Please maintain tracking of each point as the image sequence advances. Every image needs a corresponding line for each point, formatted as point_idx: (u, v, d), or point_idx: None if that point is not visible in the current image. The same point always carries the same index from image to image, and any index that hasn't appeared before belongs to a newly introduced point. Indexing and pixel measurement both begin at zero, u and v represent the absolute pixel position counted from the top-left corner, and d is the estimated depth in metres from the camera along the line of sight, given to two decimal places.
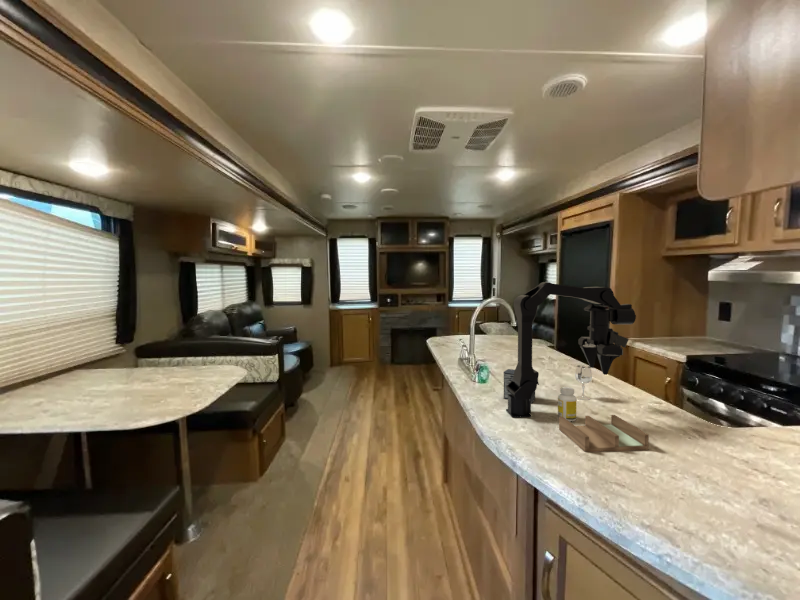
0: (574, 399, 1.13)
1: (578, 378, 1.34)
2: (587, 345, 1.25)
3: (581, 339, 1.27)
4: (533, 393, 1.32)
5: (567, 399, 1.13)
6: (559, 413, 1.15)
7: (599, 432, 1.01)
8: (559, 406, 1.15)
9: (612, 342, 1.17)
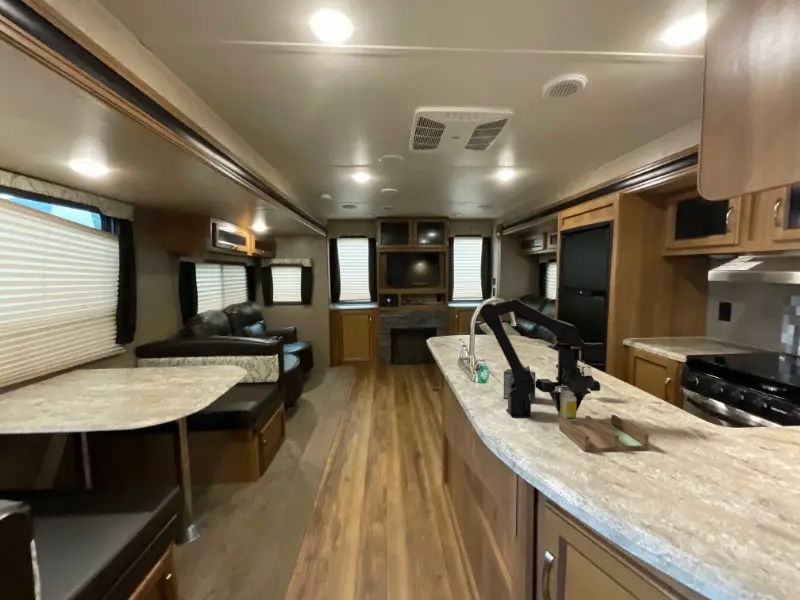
0: (574, 399, 1.13)
1: None
2: None
3: None
4: (533, 393, 1.32)
5: (567, 399, 1.13)
6: (559, 413, 1.15)
7: (599, 432, 1.01)
8: None
9: (563, 382, 1.12)
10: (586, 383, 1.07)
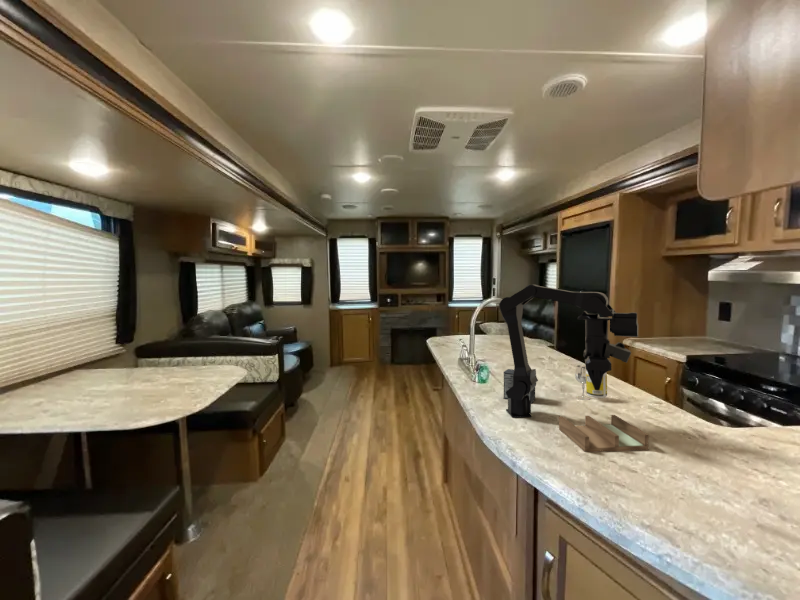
0: None
1: (578, 378, 1.34)
2: None
3: (585, 351, 1.13)
4: (533, 393, 1.32)
5: (605, 373, 1.04)
6: (598, 391, 1.04)
7: (599, 432, 1.01)
8: None
9: (608, 355, 1.02)
10: (628, 350, 1.03)
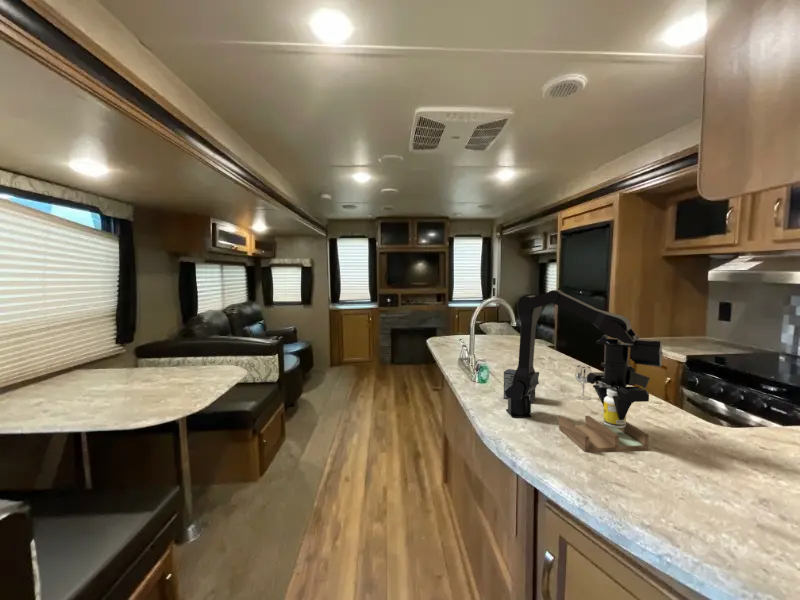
0: None
1: (578, 378, 1.34)
2: (602, 385, 1.04)
3: (591, 376, 1.07)
4: (533, 393, 1.32)
5: None
6: (621, 421, 0.98)
7: (599, 432, 1.01)
8: None
9: (632, 383, 0.97)
10: None
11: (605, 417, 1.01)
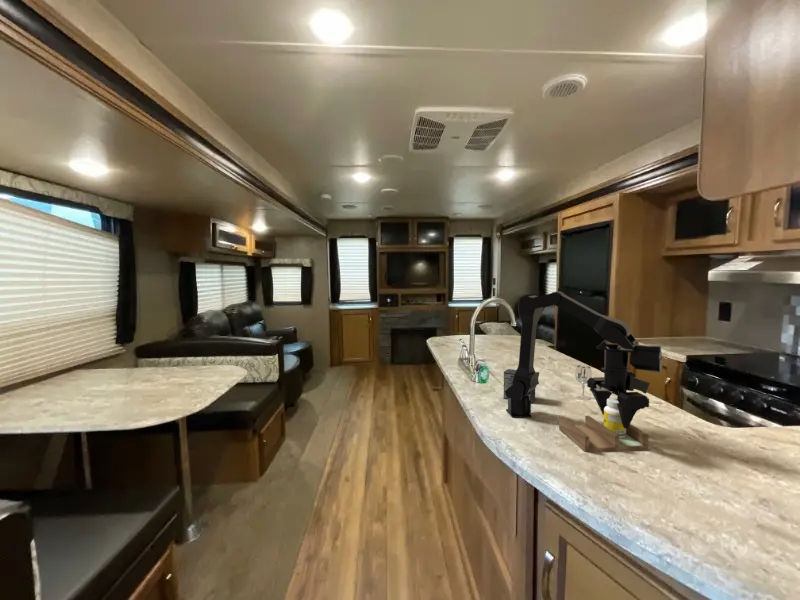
0: None
1: (578, 378, 1.34)
2: (599, 388, 1.06)
3: (591, 381, 1.07)
4: (533, 393, 1.32)
5: None
6: (621, 431, 0.98)
7: (599, 432, 1.01)
8: (621, 423, 0.98)
9: (632, 388, 0.98)
10: None
11: None
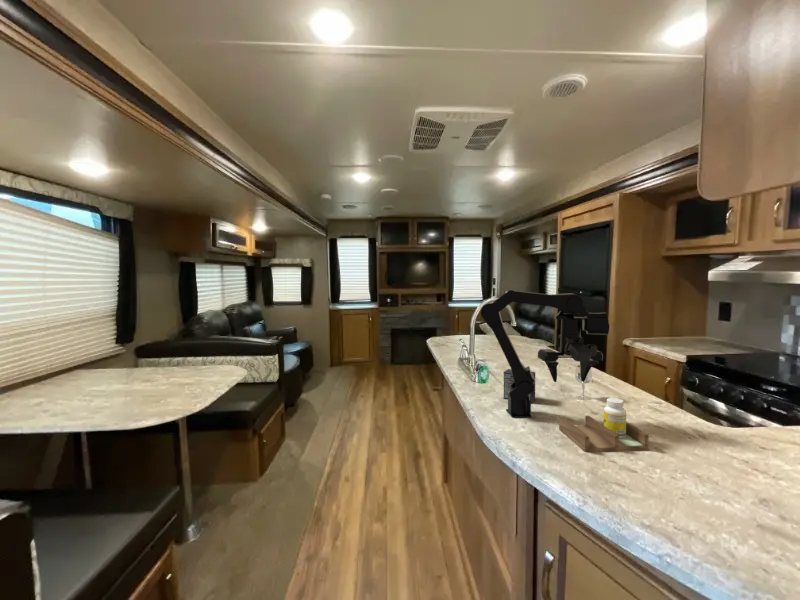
0: None
1: (578, 378, 1.34)
2: None
3: None
4: (533, 393, 1.32)
5: (625, 410, 1.00)
6: (621, 431, 0.98)
7: (599, 432, 1.01)
8: (621, 423, 0.98)
9: (566, 352, 1.11)
10: (589, 351, 1.06)
11: None
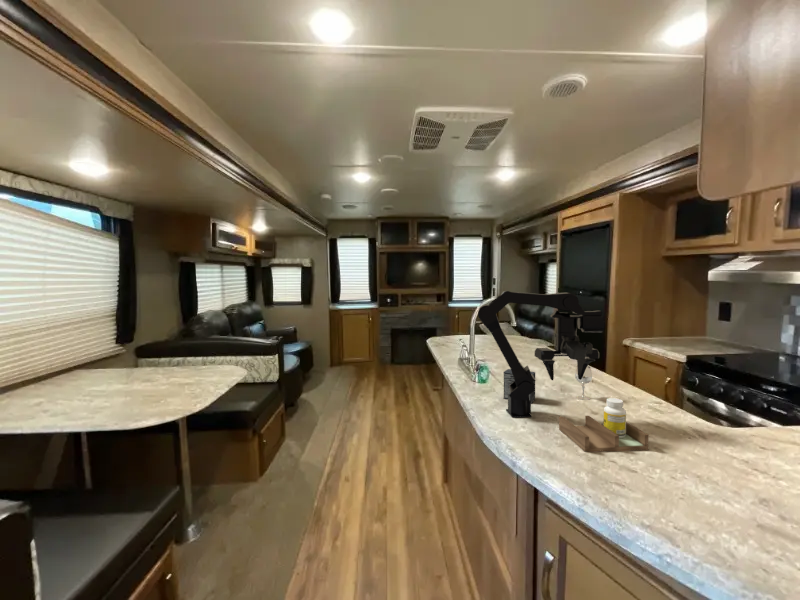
0: None
1: (578, 378, 1.34)
2: None
3: None
4: (533, 393, 1.32)
5: (625, 410, 1.00)
6: (621, 431, 0.98)
7: (599, 432, 1.01)
8: (621, 423, 0.98)
9: (561, 350, 1.13)
10: (584, 350, 1.07)
11: None
